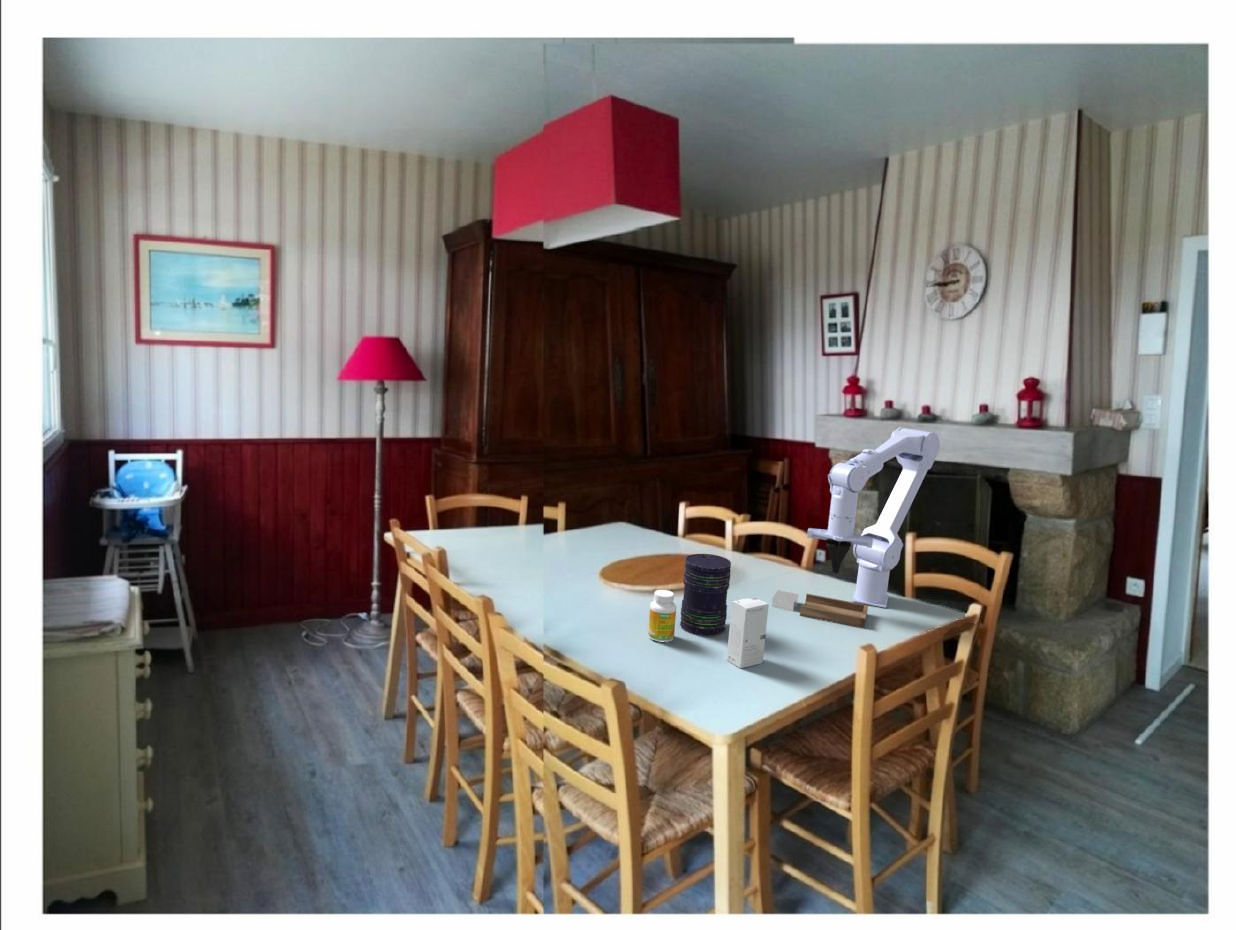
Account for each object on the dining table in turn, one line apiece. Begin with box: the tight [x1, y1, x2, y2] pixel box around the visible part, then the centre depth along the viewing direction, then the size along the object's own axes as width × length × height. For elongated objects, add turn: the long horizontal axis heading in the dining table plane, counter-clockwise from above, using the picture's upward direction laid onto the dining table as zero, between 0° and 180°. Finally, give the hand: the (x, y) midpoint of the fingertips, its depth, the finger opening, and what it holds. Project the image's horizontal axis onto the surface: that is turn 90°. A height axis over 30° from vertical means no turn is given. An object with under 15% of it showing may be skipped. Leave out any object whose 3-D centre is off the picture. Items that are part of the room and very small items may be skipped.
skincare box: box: [726, 597, 769, 669], centre depth 139 cm, size 6×4×12 cm
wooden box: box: [799, 593, 869, 629], centre depth 167 cm, size 10×14×2 cm
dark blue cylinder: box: [679, 553, 732, 637], centre depth 154 cm, size 10×10×15 cm
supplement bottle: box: [647, 589, 677, 643], centre depth 148 cm, size 5×5×10 cm
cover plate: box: [771, 590, 800, 612], centre depth 172 cm, size 6×5×2 cm
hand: (835, 571), depth 169 cm, fingers closed
